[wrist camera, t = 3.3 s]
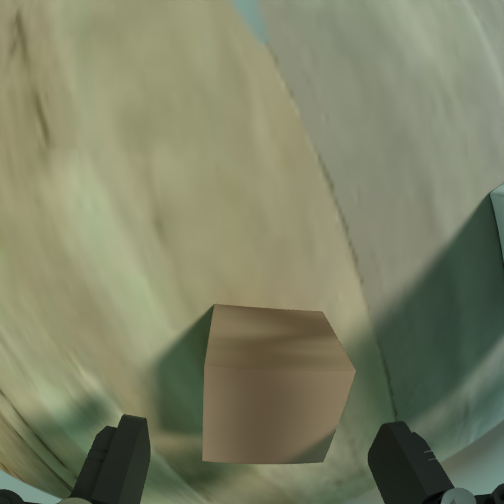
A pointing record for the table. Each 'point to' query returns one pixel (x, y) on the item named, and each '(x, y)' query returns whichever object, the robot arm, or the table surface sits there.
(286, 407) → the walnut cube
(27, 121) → the table surface
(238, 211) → the table surface
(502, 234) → the small box
